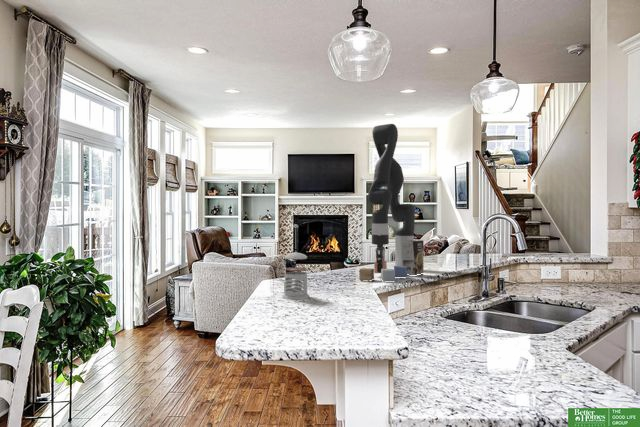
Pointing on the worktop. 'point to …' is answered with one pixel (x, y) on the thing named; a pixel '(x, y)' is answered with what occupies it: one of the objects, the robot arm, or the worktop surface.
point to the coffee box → (413, 256)
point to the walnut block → (366, 274)
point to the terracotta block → (382, 266)
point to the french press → (295, 277)
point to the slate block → (388, 274)
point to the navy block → (400, 271)
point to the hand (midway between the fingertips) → (380, 271)
